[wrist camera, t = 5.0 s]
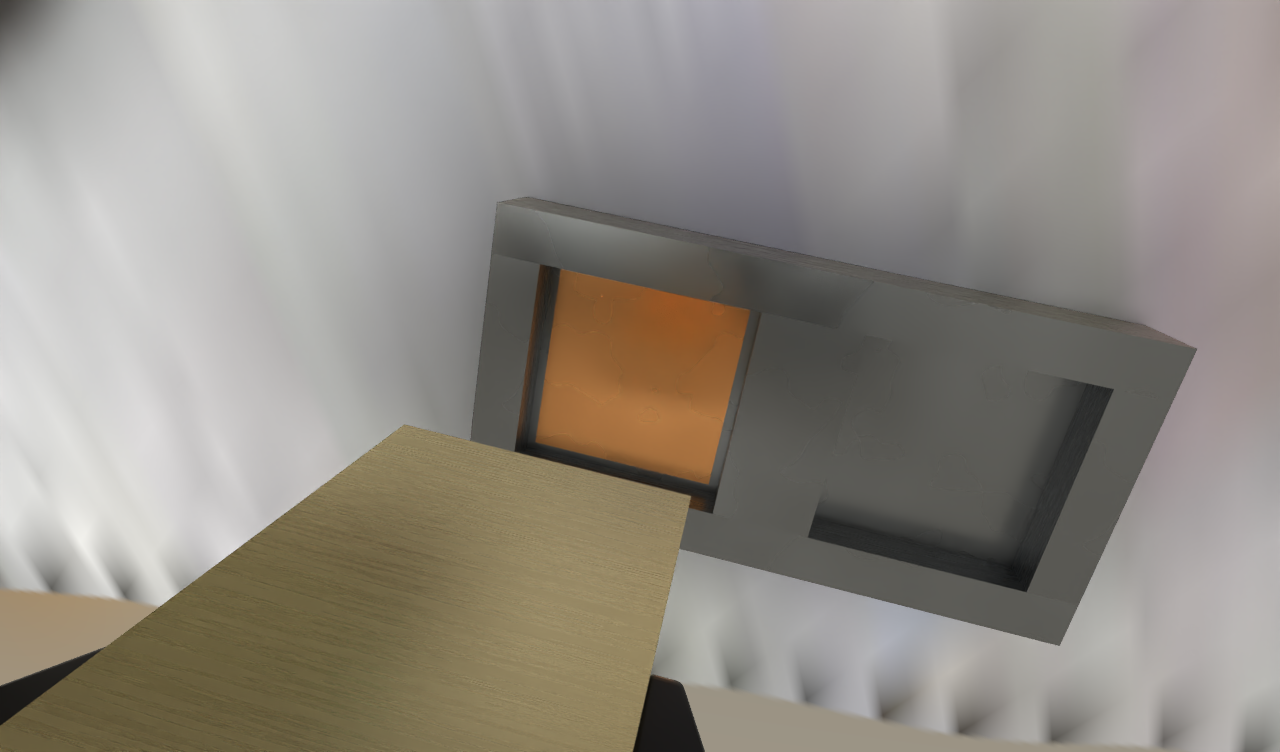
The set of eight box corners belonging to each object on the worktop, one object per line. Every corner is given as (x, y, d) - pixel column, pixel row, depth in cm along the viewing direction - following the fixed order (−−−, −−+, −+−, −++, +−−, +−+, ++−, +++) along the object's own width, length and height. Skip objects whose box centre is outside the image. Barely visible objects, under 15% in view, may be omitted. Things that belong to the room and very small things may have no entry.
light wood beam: (691, 496, 9) (566, 1036, 4) (635, 730, 11) (482, 1397, 5) (404, 424, 10) (-109, 806, 4) (385, 658, 11) (-22, 1196, 5)
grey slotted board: (1146, 325, 17) (1196, 348, 15) (1029, 595, 20) (1059, 645, 18) (526, 197, 19) (497, 202, 17) (493, 460, 22) (464, 493, 20)
